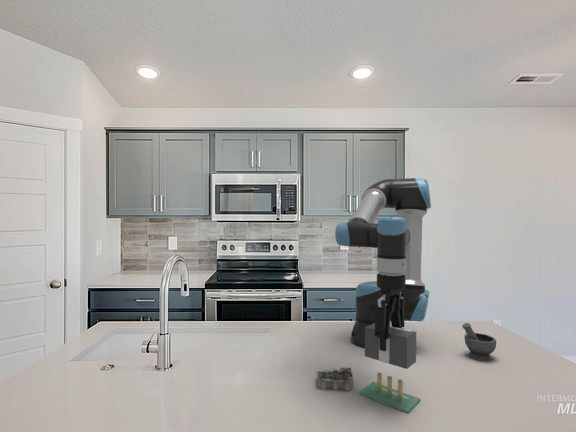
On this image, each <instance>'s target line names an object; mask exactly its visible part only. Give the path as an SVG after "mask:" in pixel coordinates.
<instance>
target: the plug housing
mask: <svg viewBox="0 0 576 432" xmlns="http://www.w3.org/2000/svg"><path fill="white" fill-rule="evenodd" d="M388 338H390V363H389V364H390V365H392V366H395V367H399V368H401V369H405V370H408V369H409V368H410V367H412V365H414V364H415V363H416V362H417V331H414V330H409V329H405V328H403V329H401V328H397V327H392V325H390V328H389V335H388ZM364 357H365V358H366V357H367V358H369V359H372V360H377V361H379V337H376V336H375V323H374V324H371V325H369V326H367V327H365V348H364Z"/></svg>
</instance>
